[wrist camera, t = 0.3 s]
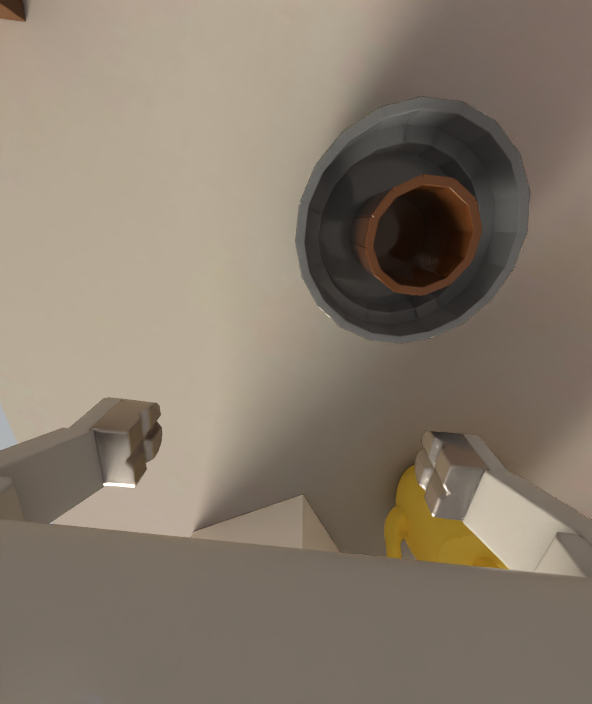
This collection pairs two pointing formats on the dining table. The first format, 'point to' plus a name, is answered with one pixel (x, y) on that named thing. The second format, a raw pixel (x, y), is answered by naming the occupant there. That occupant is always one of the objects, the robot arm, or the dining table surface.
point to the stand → (12, 10)
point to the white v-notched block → (274, 527)
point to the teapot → (431, 531)
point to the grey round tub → (395, 168)
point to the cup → (417, 234)
